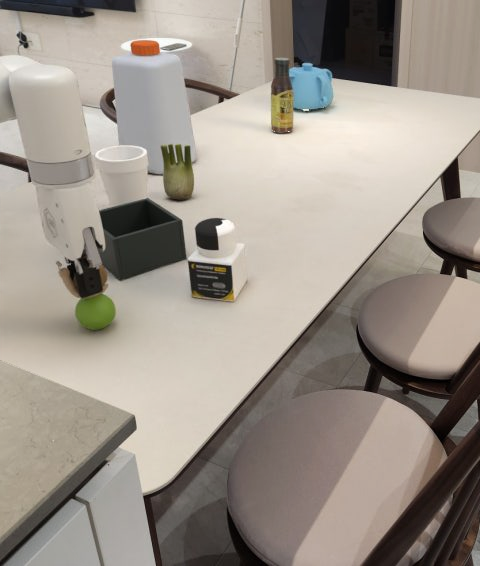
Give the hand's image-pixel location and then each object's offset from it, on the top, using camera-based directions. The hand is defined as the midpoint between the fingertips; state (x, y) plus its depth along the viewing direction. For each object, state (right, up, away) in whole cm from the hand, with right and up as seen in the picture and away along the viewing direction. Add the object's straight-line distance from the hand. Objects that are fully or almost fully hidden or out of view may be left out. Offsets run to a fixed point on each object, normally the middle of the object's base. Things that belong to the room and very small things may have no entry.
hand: (87, 290), depth 90 cm
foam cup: (-8, +14, +38) cm, 41 cm away
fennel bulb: (-1, +19, +46) cm, 50 cm away
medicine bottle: (+15, 0, +14) cm, 21 cm away
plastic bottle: (-11, +30, +64) cm, 71 cm away
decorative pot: (+20, +58, +114) cm, 129 cm away
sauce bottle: (+15, +44, +91) cm, 102 cm away
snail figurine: (0, -6, +3) cm, 7 cm away
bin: (-1, +6, +23) cm, 24 cm away
